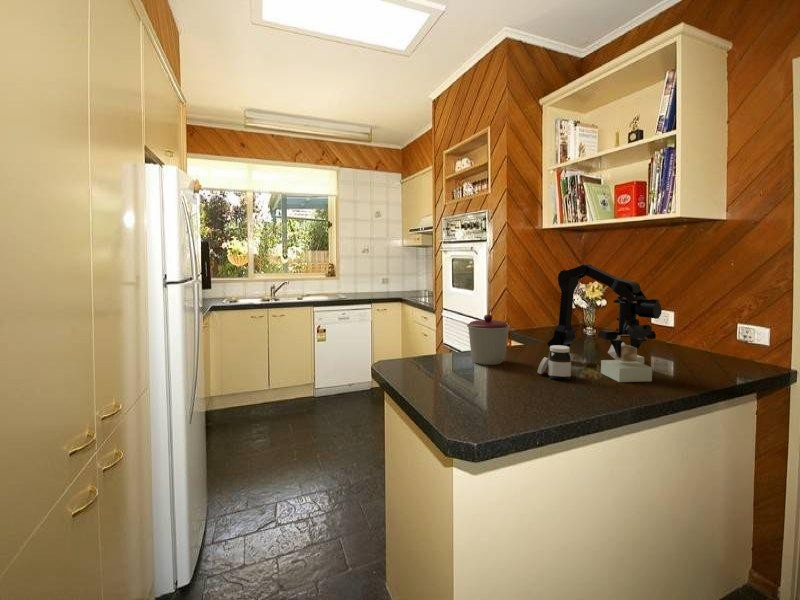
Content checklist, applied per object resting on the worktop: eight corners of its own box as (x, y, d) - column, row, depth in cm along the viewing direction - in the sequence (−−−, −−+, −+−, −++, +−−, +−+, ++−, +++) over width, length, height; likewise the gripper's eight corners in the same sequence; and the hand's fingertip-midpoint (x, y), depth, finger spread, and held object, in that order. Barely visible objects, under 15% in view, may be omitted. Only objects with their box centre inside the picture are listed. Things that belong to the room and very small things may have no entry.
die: (632, 364, 168) (638, 344, 171) (614, 355, 167) (620, 335, 171) (618, 367, 175) (624, 348, 179) (602, 357, 175) (608, 338, 178)
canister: (458, 362, 173) (458, 314, 171) (483, 355, 185) (483, 310, 183) (493, 370, 159) (493, 318, 157) (517, 362, 171) (518, 314, 169)
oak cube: (623, 361, 145) (623, 348, 144) (615, 358, 150) (615, 345, 149) (636, 361, 145) (637, 347, 145) (628, 358, 150) (628, 345, 150)
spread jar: (572, 382, 143) (573, 350, 142) (540, 380, 145) (540, 349, 144) (566, 372, 155) (566, 343, 154) (535, 371, 157) (536, 342, 156)
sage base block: (619, 382, 142) (619, 368, 141) (600, 372, 154) (601, 360, 153) (651, 381, 142) (652, 367, 142) (630, 372, 154) (631, 359, 154)
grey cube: (631, 369, 158) (632, 357, 157) (624, 366, 163) (624, 354, 162) (643, 369, 158) (644, 357, 158) (635, 366, 163) (636, 354, 163)
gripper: (615, 319, 138) (613, 363, 139) (667, 318, 138) (665, 362, 140) (598, 315, 149) (596, 355, 150) (646, 314, 149) (644, 354, 151)
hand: (625, 357), depth 147 cm, fingers closed on oak cube, 5 cm apart
